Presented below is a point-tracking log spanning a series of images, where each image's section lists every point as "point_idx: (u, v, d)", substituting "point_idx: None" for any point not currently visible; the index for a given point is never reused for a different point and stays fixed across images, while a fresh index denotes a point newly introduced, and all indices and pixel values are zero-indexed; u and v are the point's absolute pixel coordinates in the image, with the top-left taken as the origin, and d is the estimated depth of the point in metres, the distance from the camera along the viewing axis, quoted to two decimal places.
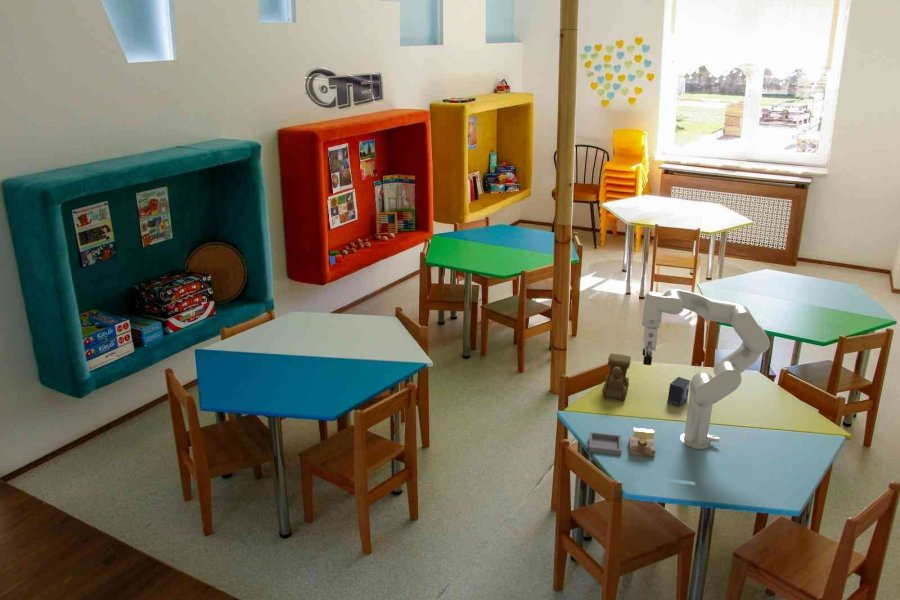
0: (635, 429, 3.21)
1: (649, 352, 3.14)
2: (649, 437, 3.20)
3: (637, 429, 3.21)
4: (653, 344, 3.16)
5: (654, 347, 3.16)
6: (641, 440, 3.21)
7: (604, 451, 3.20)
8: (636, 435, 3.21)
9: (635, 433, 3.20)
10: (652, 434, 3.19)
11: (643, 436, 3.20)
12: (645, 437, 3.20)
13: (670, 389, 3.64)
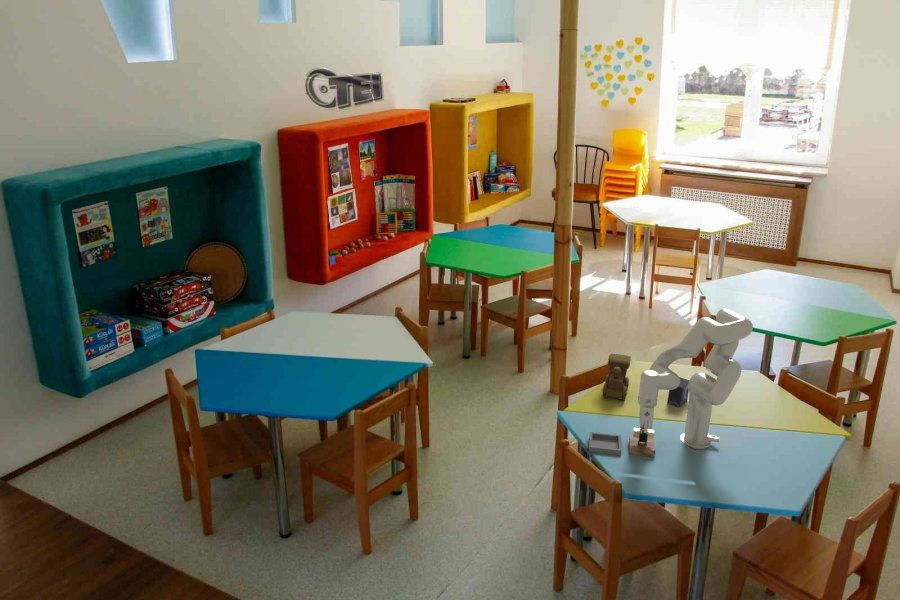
0: (635, 429, 3.21)
1: (645, 432, 3.15)
2: (649, 437, 3.20)
3: (637, 429, 3.21)
4: (649, 427, 3.15)
5: (650, 426, 3.14)
6: None
7: (604, 451, 3.20)
8: (636, 435, 3.21)
9: (635, 433, 3.20)
10: (652, 434, 3.19)
11: None
12: None
13: None
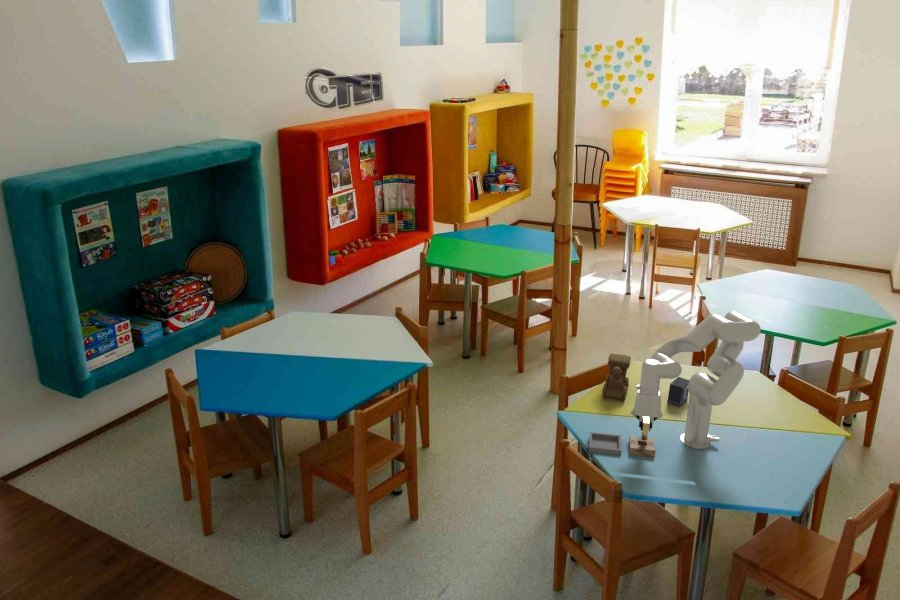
0: None
1: None
2: None
3: None
4: (635, 411, 3.17)
5: (634, 410, 3.17)
6: None
7: (604, 451, 3.20)
8: None
9: None
10: (643, 425, 3.16)
11: None
12: None
13: (670, 389, 3.64)
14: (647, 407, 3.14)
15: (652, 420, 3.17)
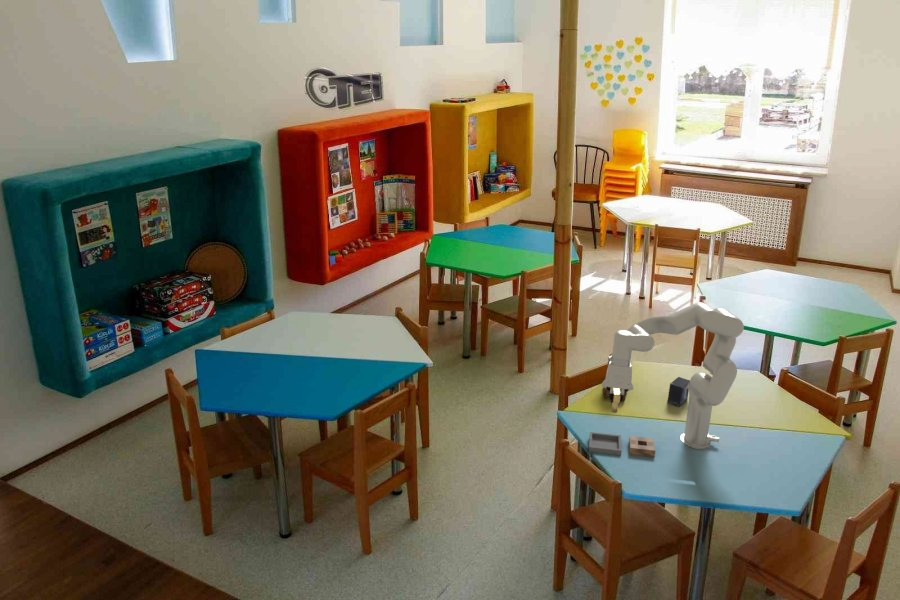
0: (616, 388, 3.20)
1: None
2: (613, 399, 3.16)
3: (616, 388, 3.20)
4: None
5: (605, 381, 3.15)
6: None
7: (604, 451, 3.20)
8: None
9: (613, 390, 3.21)
10: (613, 396, 3.14)
11: None
12: None
13: (670, 389, 3.64)
14: (618, 379, 3.12)
15: (623, 392, 3.15)
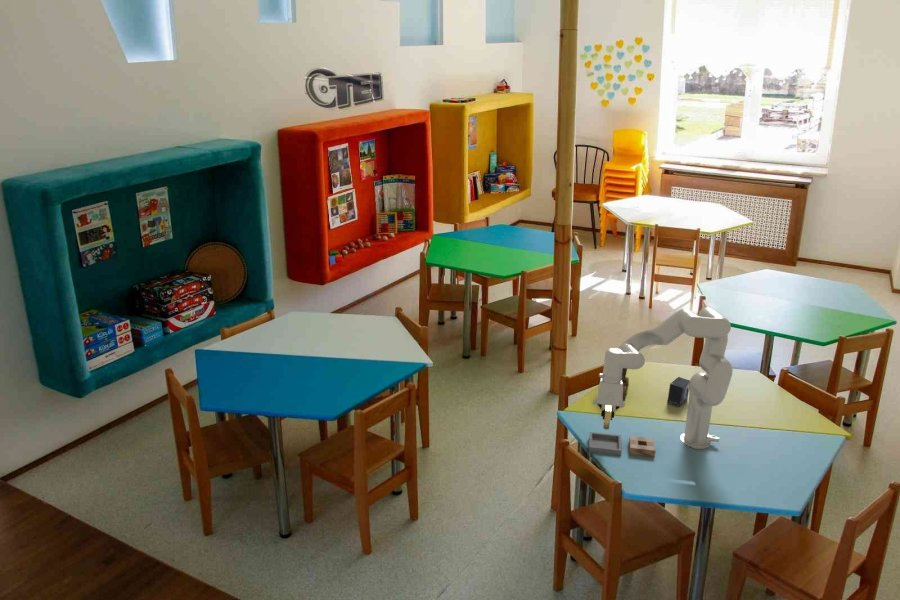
0: None
1: None
2: None
3: (608, 405, 3.23)
4: None
5: (597, 399, 3.18)
6: None
7: (604, 451, 3.20)
8: None
9: None
10: (605, 413, 3.18)
11: None
12: None
13: (670, 389, 3.64)
14: (609, 396, 3.15)
15: (614, 409, 3.19)
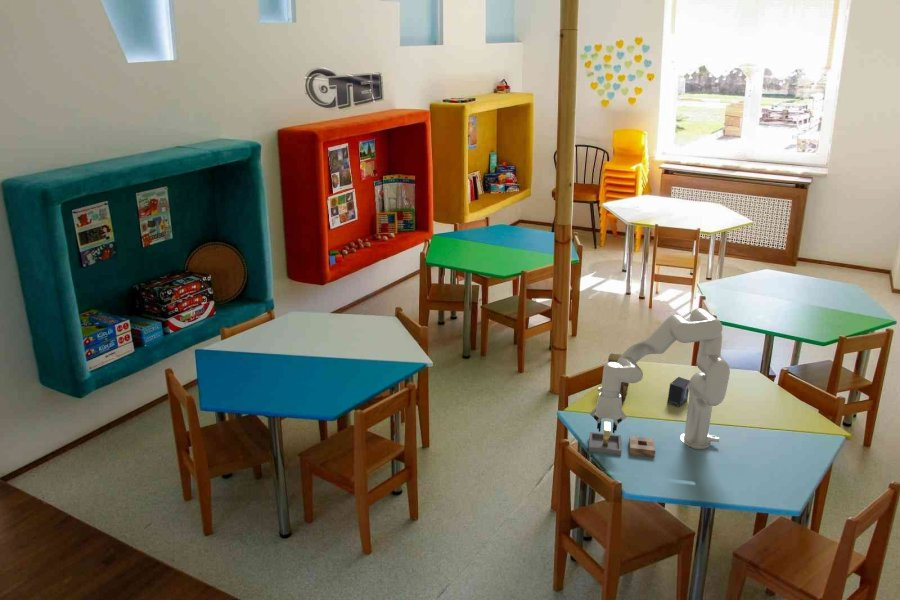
0: (607, 422, 3.26)
1: None
2: None
3: (607, 423, 3.26)
4: (596, 411, 3.20)
5: (596, 412, 3.20)
6: None
7: (604, 451, 3.20)
8: None
9: None
10: (604, 431, 3.20)
11: None
12: None
13: (670, 389, 3.64)
14: (608, 410, 3.18)
15: (616, 422, 3.20)
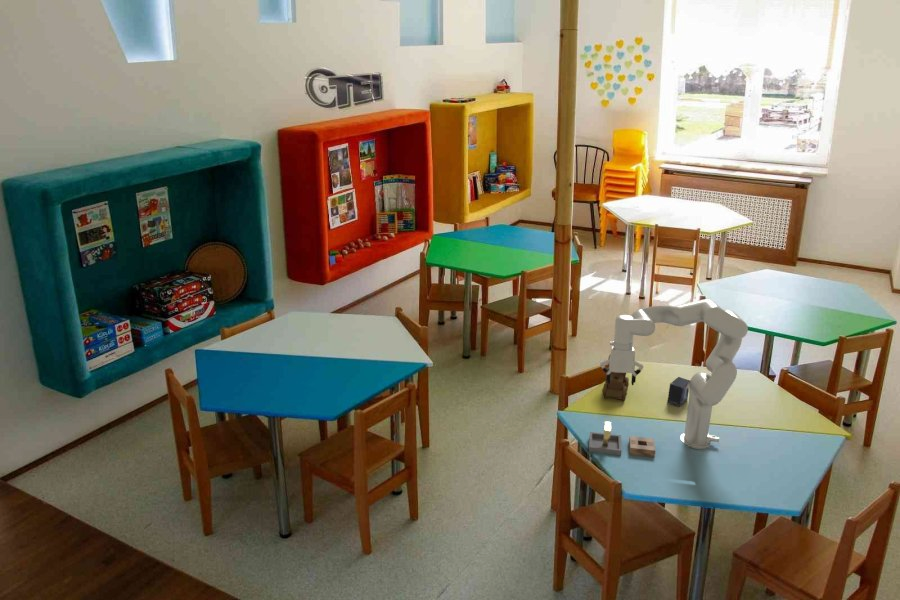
0: (607, 422, 3.26)
1: None
2: None
3: (607, 423, 3.26)
4: (609, 363, 3.18)
5: (609, 366, 3.18)
6: None
7: (604, 451, 3.20)
8: (604, 426, 3.27)
9: None
10: (604, 431, 3.20)
11: (604, 430, 3.24)
12: None
13: (670, 389, 3.64)
14: (622, 363, 3.16)
15: (634, 374, 3.18)
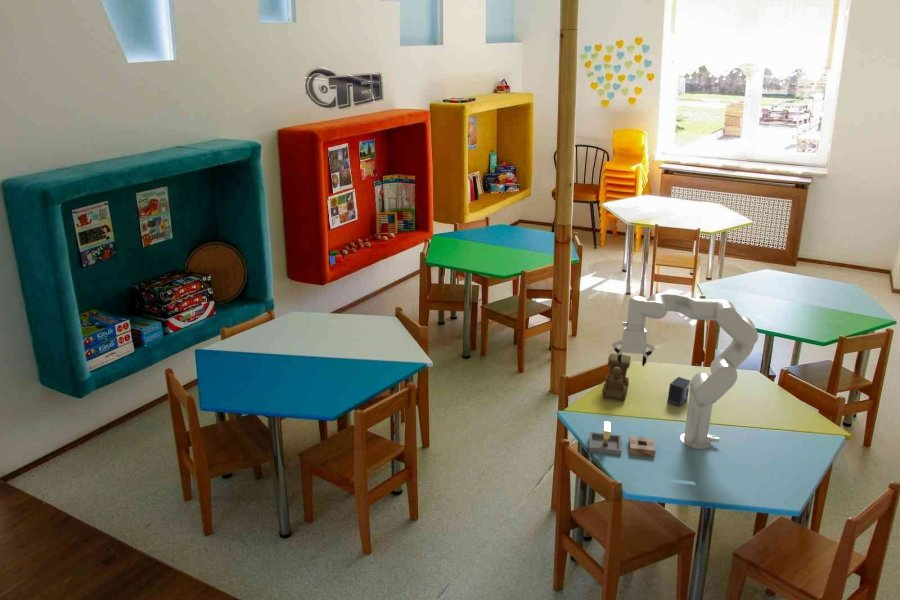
0: (607, 422, 3.26)
1: (613, 347, 3.26)
2: None
3: (607, 423, 3.26)
4: (621, 343, 3.23)
5: (621, 347, 3.23)
6: None
7: (604, 451, 3.20)
8: None
9: None
10: (604, 431, 3.20)
11: None
12: None
13: (670, 389, 3.64)
14: (633, 344, 3.21)
15: (645, 355, 3.23)
